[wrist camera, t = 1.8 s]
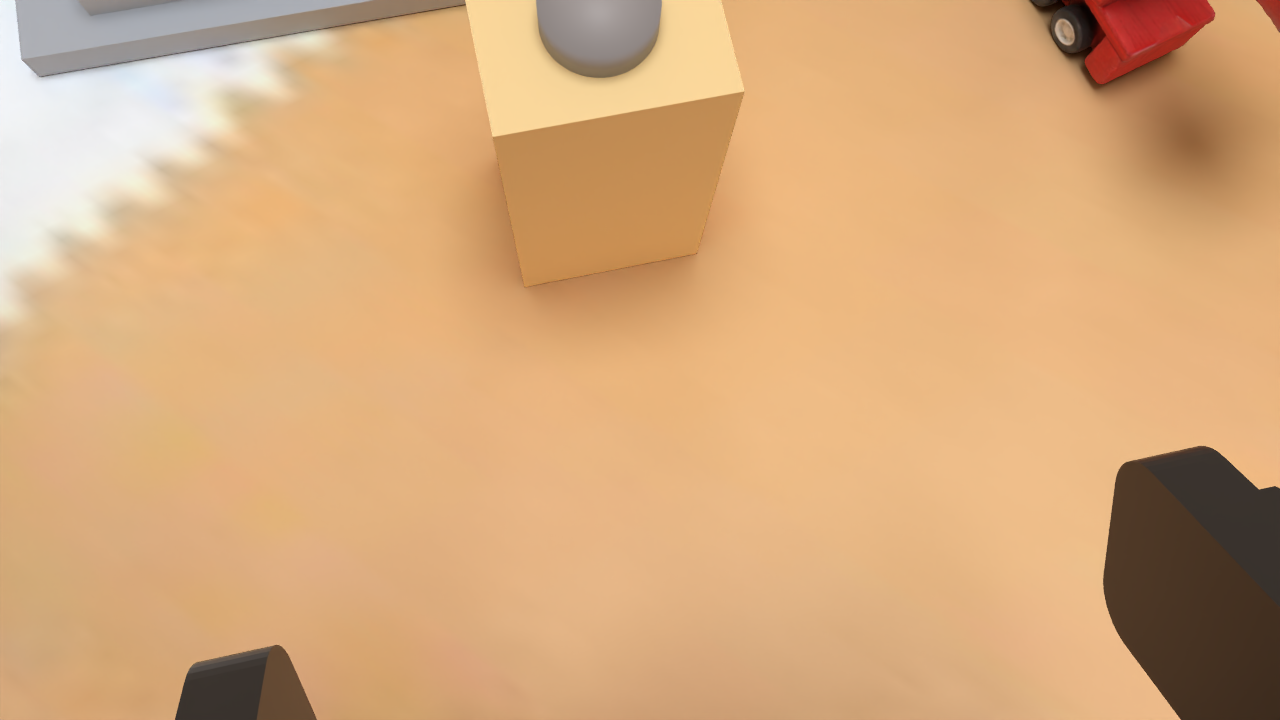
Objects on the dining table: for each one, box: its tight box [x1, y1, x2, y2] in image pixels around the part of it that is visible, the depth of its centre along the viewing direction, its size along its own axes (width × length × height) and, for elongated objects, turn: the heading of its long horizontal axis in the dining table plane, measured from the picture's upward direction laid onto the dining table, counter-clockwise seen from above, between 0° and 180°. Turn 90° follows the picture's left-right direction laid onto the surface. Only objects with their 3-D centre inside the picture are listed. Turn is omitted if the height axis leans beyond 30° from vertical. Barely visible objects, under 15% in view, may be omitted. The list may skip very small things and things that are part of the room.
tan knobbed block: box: [465, 0, 744, 287], centre depth 26 cm, size 5×4×11 cm
